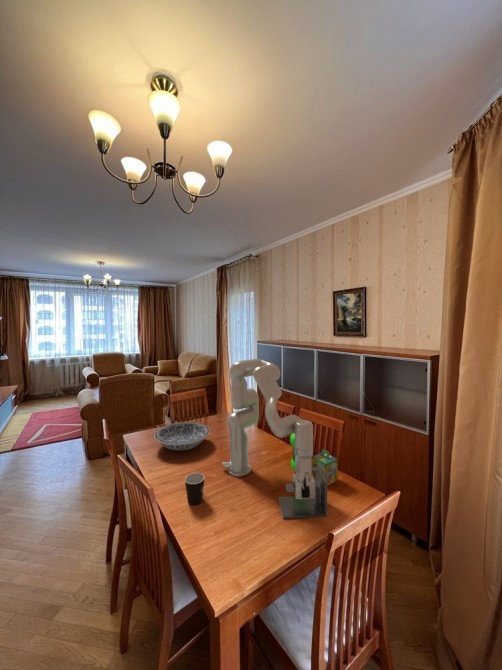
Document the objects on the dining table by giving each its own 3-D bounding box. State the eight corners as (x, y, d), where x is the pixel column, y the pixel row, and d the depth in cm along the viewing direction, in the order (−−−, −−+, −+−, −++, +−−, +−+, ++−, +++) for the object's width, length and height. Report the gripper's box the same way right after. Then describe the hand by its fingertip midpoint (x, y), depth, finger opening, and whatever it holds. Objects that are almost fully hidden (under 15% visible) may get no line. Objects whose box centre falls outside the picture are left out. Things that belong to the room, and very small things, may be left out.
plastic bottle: (309, 466, 146) (309, 421, 145) (309, 477, 135) (309, 428, 134) (291, 464, 148) (290, 420, 147) (289, 475, 138) (289, 427, 137)
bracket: (282, 518, 107) (282, 484, 106) (278, 499, 119) (278, 468, 118) (327, 516, 108) (327, 482, 107) (318, 497, 120) (318, 466, 119)
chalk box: (310, 479, 134) (310, 450, 134) (322, 473, 140) (322, 445, 139) (325, 488, 127) (325, 457, 126) (337, 481, 132) (337, 452, 131)
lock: (295, 499, 110) (295, 482, 110) (292, 489, 116) (292, 473, 116) (315, 498, 110) (315, 482, 110) (310, 489, 117) (310, 473, 116)
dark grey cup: (195, 509, 113) (195, 486, 112) (181, 502, 117) (180, 480, 117) (213, 494, 123) (213, 473, 122) (199, 488, 127) (199, 467, 127)
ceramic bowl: (182, 465, 148) (181, 447, 148) (142, 450, 166) (142, 434, 166) (220, 442, 178) (220, 427, 177) (183, 431, 196) (183, 418, 195)
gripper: (290, 441, 121) (290, 480, 122) (299, 461, 104) (299, 506, 104) (307, 441, 121) (306, 479, 122) (318, 460, 104) (318, 505, 105)
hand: (303, 491), depth 113 cm, fingers closed on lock, 6 cm apart
